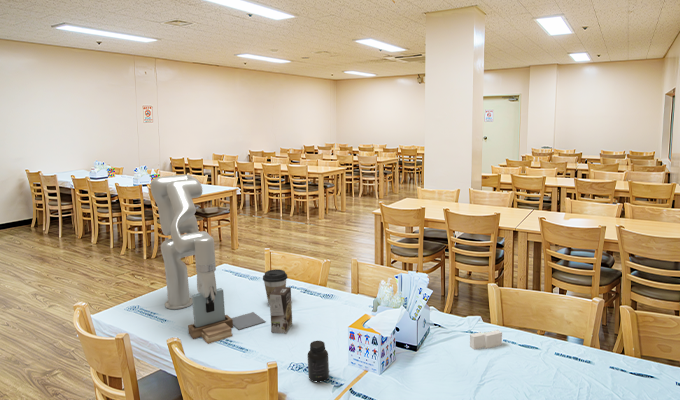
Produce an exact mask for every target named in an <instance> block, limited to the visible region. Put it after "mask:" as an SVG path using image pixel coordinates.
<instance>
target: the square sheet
mask: <svg viewBox="0 0 680 400" xmlns="http://www.w3.org/2000/svg"><path fill="white" fill-rule="evenodd" d="M216 289H217V294H216V295H214V296H215V300H214V311H213V312H209V313H207V312H206V303H207V302H206V298H205V297H203V296H202V295H201V294H200V293H199V292H198V293H194V294H191V298H192V303H193V304H192V310H193V311H192V314H193V324H194V326H195V327H196V328H197V327H201V326H204V325H208V324H211V323H215V322H218V321H222V320H225V315H226V312H225V297H224V289H223V288H222V287H219V288H216ZM209 295H210V294H209ZM209 298H211V297H209ZM209 298H208V299H209Z"/></svg>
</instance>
